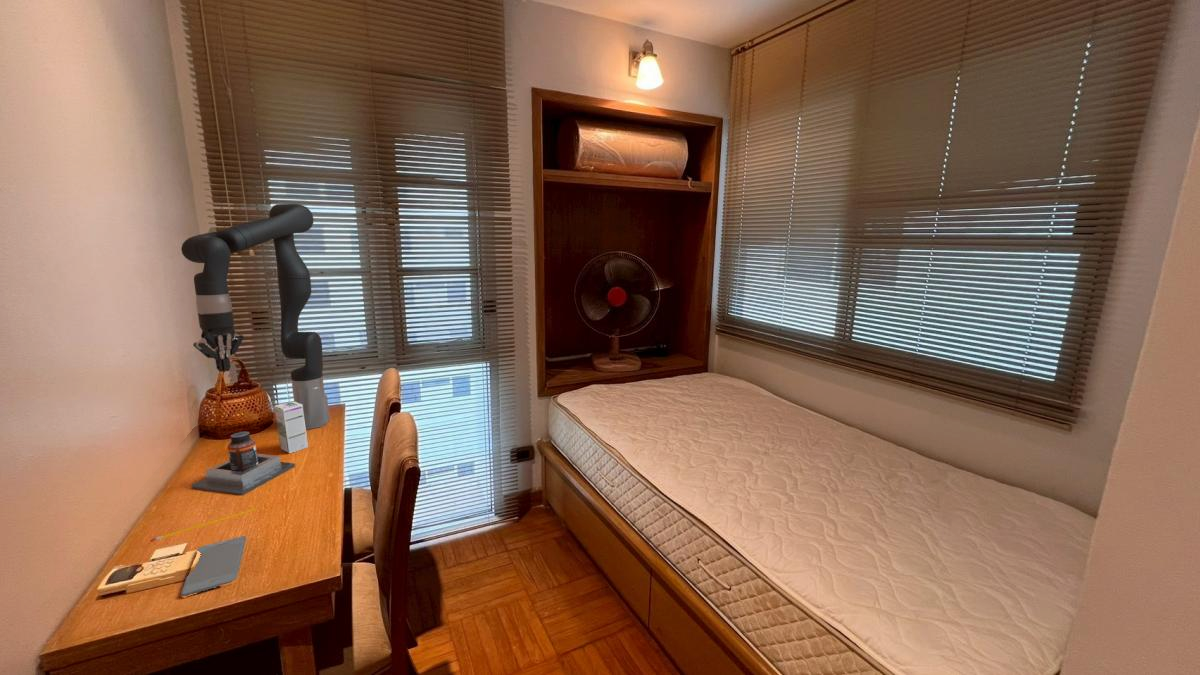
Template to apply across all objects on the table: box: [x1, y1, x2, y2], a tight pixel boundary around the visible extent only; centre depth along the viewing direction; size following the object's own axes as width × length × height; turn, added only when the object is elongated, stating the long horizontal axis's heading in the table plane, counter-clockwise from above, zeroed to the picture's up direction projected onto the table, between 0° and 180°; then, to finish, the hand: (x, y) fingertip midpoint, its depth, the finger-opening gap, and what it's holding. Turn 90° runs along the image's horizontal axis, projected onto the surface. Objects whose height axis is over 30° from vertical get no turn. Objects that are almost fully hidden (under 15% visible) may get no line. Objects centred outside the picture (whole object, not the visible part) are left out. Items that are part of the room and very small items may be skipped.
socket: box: [190, 453, 296, 496], centre depth 127 cm, size 16×16×4 cm
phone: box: [180, 535, 247, 597], centre depth 92 cm, size 8×16×1 cm, turn 31°
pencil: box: [151, 508, 258, 542], centre depth 106 cm, size 1×18×1 cm, turn 133°
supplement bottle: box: [227, 431, 258, 472], centre depth 127 cm, size 6×6×11 cm
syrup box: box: [274, 400, 309, 454], centre depth 144 cm, size 6×6×14 cm
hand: (224, 371), depth 133 cm, fingers closed
